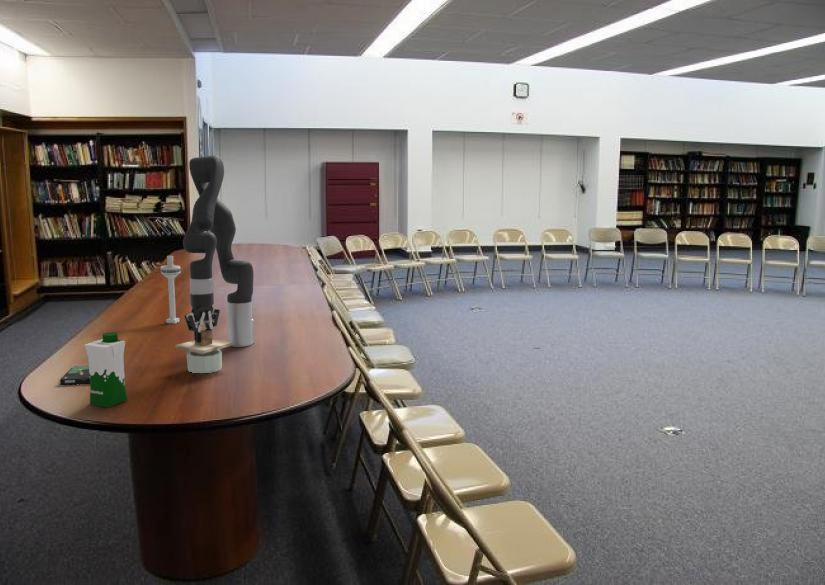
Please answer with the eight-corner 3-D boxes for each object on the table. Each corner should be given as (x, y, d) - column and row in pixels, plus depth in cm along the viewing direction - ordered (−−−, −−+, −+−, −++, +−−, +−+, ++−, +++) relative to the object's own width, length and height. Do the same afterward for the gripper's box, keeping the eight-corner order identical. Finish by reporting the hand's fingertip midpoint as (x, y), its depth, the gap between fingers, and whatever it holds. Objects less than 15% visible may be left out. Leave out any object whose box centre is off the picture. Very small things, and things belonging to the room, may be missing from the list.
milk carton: (131, 399, 196) (128, 333, 193) (108, 409, 188) (103, 340, 185) (108, 395, 199) (104, 330, 196) (84, 405, 191) (79, 337, 188)
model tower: (185, 320, 303) (183, 255, 298) (177, 324, 295) (174, 257, 289) (168, 320, 303) (165, 254, 298) (159, 323, 295) (156, 256, 290)
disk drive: (95, 386, 210) (106, 372, 225) (95, 377, 210) (105, 364, 224) (60, 387, 208) (72, 373, 222) (59, 379, 208) (72, 365, 222)
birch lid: (204, 340, 236) (204, 325, 235) (231, 345, 229) (231, 330, 228) (175, 348, 224) (174, 332, 223) (202, 353, 218) (202, 337, 217)
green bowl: (205, 363, 236) (204, 346, 235) (228, 367, 230) (227, 351, 229) (180, 370, 226) (180, 353, 225) (204, 375, 221) (203, 358, 220)
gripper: (209, 287, 232) (211, 335, 234) (177, 293, 219) (179, 343, 222) (225, 289, 228) (226, 338, 231) (193, 295, 216) (195, 347, 219)
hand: (203, 340), depth 226 cm, fingers closed on birch lid, 4 cm apart
